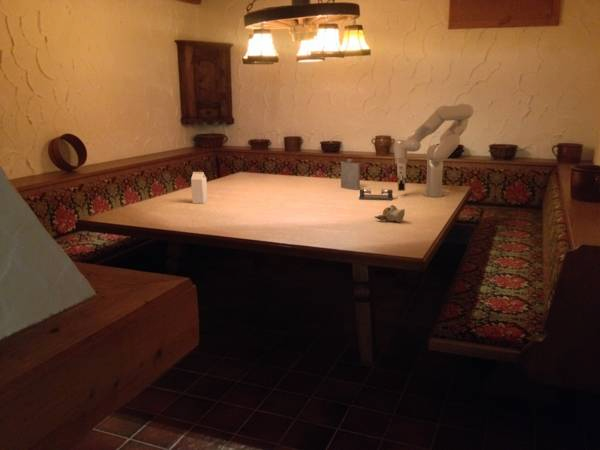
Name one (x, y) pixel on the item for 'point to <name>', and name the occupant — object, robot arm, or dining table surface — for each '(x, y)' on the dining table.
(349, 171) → the hip flask
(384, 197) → the shaft rig
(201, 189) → the milk carton
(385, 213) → the ceramic sculpture
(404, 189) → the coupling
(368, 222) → the dining table surface
